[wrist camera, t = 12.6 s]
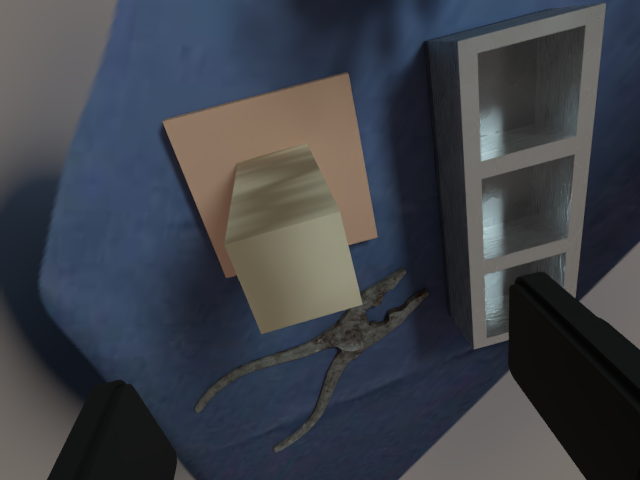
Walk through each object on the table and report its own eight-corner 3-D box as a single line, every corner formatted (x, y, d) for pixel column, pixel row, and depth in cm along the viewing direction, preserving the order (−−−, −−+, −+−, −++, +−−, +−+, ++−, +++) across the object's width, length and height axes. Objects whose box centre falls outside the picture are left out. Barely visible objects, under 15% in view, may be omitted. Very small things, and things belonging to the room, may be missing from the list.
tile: (345, 71, 21) (348, 73, 21) (374, 231, 26) (377, 237, 25) (165, 118, 21) (162, 121, 20) (226, 271, 26) (226, 278, 25)
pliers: (182, 426, 31) (325, 226, 25) (184, 417, 32) (323, 221, 26) (287, 458, 34) (435, 289, 28) (287, 449, 35) (431, 282, 29)
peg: (306, 142, 22) (339, 211, 13) (323, 206, 24) (362, 304, 15) (237, 162, 22) (224, 244, 13) (259, 225, 24) (261, 334, 15)
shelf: (548, 8, 21) (606, 2, 18) (536, 289, 30) (573, 322, 27) (424, 41, 21) (457, 41, 18) (448, 313, 30) (473, 349, 27)
